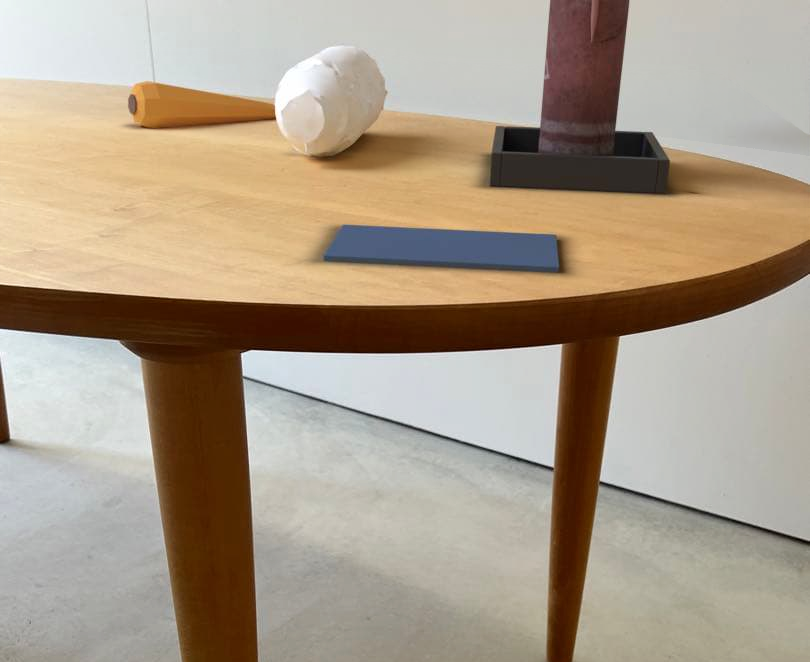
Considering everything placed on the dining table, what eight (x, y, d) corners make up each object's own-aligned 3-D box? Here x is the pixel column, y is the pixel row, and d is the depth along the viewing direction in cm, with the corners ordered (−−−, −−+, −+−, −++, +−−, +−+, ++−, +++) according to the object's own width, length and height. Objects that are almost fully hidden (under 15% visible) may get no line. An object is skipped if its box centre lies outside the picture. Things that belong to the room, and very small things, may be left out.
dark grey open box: (648, 164, 98) (652, 132, 96) (665, 196, 86) (670, 160, 84) (493, 157, 99) (495, 125, 97) (489, 188, 87) (491, 152, 85)
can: (548, 181, 89) (565, -14, 82) (528, 165, 94) (542, -19, 88) (621, 180, 90) (643, -13, 83) (597, 165, 95) (616, -17, 88)
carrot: (136, 138, 107) (143, 94, 104) (120, 113, 109) (126, 69, 106) (316, 144, 118) (327, 105, 114) (298, 122, 120) (308, 82, 117)
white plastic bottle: (256, 170, 91) (251, 65, 88) (304, 132, 108) (302, 43, 104) (351, 174, 91) (350, 69, 87) (385, 136, 107) (386, 46, 103)
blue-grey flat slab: (555, 242, 72) (556, 234, 72) (558, 275, 65) (559, 266, 65) (342, 231, 73) (342, 224, 73) (323, 263, 66) (323, 255, 66)
